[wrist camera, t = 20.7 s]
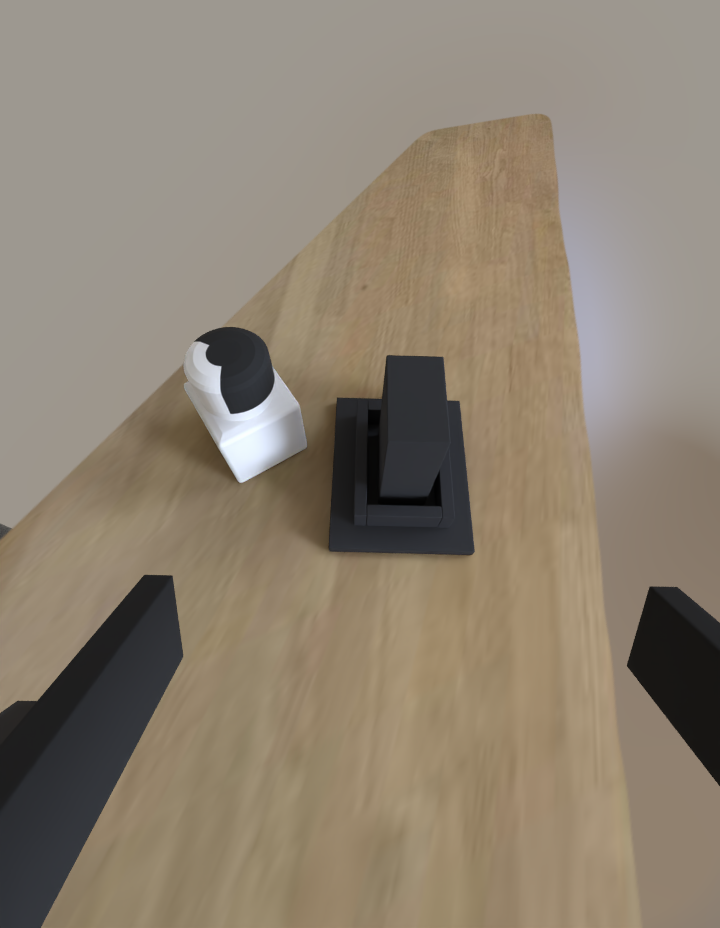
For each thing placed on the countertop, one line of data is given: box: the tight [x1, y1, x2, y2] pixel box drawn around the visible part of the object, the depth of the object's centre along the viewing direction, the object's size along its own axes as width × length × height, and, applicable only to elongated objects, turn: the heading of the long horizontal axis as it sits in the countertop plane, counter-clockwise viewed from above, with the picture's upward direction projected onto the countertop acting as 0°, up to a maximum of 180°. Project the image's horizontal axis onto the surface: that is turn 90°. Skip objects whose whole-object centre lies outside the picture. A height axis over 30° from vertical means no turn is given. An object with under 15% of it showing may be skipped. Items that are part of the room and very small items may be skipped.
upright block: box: [378, 355, 451, 505], centre depth 33 cm, size 4×7×11 cm, turn 179°
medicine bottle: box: [183, 327, 307, 483], centre depth 35 cm, size 7×7×12 cm
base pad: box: [329, 398, 475, 555], centre depth 37 cm, size 12×15×4 cm
